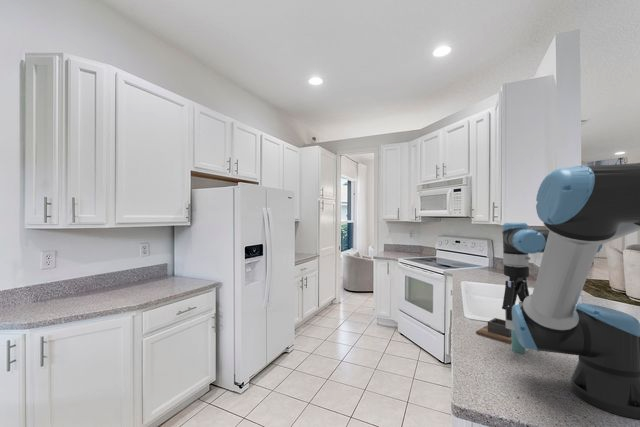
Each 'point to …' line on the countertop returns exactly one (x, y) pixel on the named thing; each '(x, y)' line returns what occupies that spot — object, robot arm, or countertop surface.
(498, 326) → the bracket board
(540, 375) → the countertop surface
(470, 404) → the countertop surface
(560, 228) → the robot arm
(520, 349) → the dowel
